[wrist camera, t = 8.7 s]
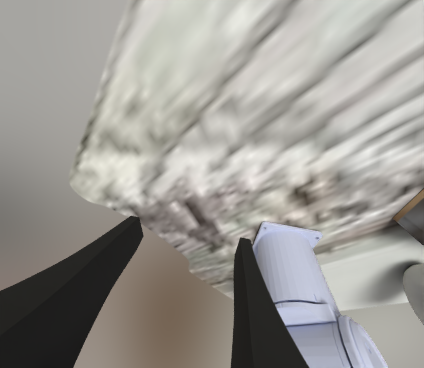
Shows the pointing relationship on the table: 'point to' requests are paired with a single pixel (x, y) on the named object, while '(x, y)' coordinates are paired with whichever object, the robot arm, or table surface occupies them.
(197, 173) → the table surface
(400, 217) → the tray
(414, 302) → the donut
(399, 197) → the table surface
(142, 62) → the table surface
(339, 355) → the robot arm
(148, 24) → the table surface
